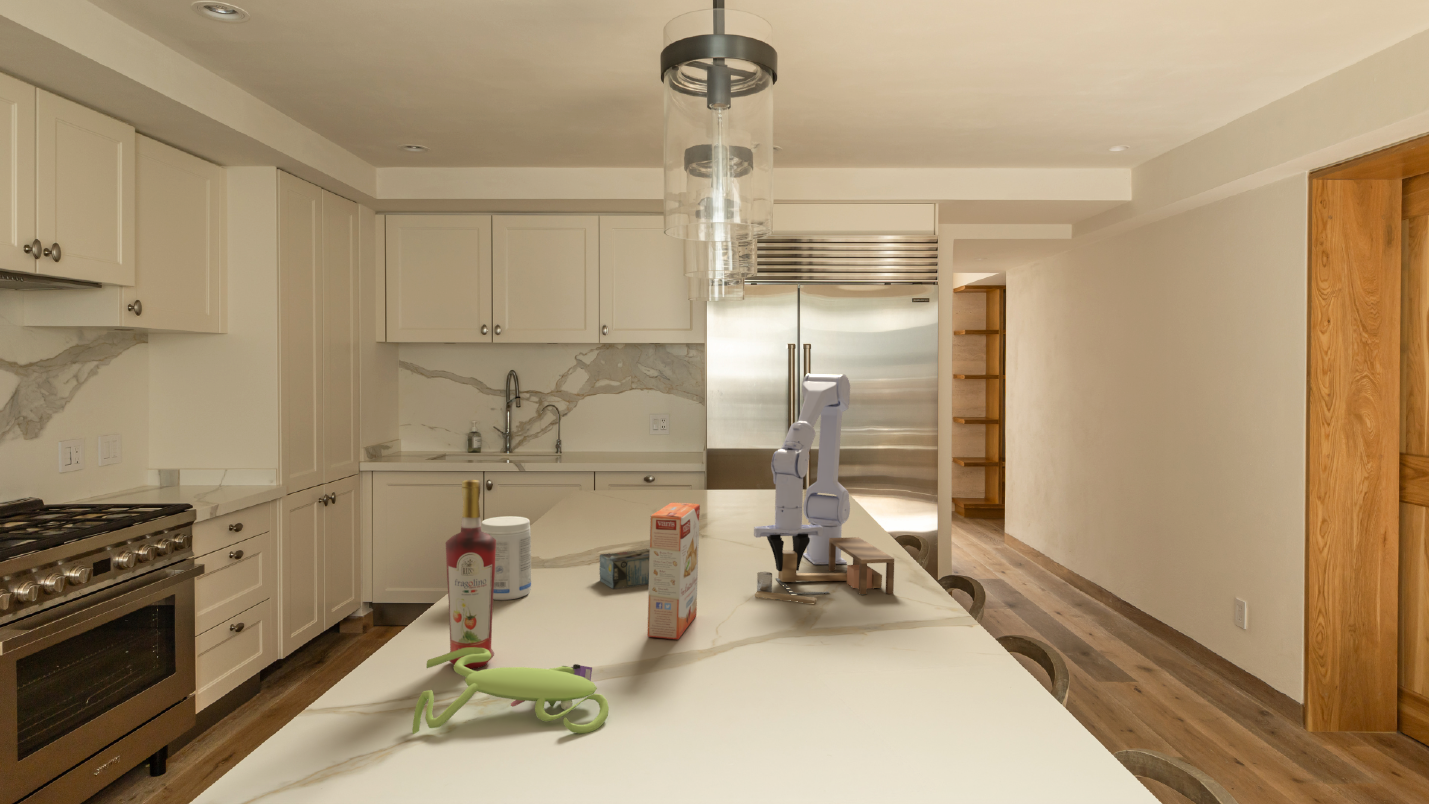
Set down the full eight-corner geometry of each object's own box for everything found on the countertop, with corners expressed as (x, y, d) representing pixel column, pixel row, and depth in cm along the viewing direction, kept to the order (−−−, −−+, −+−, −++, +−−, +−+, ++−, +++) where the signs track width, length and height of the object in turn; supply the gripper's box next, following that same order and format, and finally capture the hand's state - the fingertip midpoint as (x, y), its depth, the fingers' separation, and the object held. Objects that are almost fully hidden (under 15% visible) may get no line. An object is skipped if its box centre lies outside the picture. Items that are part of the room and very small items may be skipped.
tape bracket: (775, 579, 175) (775, 578, 175) (811, 577, 177) (811, 576, 177) (791, 595, 163) (791, 594, 163) (829, 593, 165) (829, 592, 165)
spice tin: (755, 591, 166) (755, 571, 166) (769, 590, 166) (770, 571, 166) (759, 595, 163) (759, 575, 163) (773, 595, 164) (773, 575, 163)
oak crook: (865, 577, 178) (867, 550, 177) (881, 588, 169) (883, 559, 169) (778, 578, 174) (779, 550, 174) (789, 589, 165) (791, 559, 165)
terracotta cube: (846, 583, 173) (847, 565, 173) (864, 583, 174) (865, 564, 173) (853, 588, 169) (854, 569, 169) (871, 588, 170) (872, 569, 169)
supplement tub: (518, 584, 168) (518, 514, 167) (539, 595, 160) (540, 521, 160) (472, 592, 162) (472, 519, 161) (492, 604, 154) (493, 527, 153)
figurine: (436, 679, 119) (436, 641, 119) (619, 680, 120) (619, 642, 119) (387, 737, 101) (387, 692, 101) (603, 738, 101) (604, 694, 101)
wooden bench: (828, 569, 184) (829, 538, 184) (857, 568, 185) (858, 537, 185) (860, 594, 164) (861, 559, 164) (893, 593, 166) (894, 558, 165)
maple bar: (757, 596, 164) (757, 590, 164) (816, 604, 159) (816, 598, 159) (755, 599, 162) (755, 593, 162) (813, 606, 158) (814, 600, 158)
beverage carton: (597, 581, 172) (597, 550, 172) (678, 571, 182) (678, 542, 181) (612, 590, 165) (612, 558, 165) (695, 579, 175) (695, 549, 175)
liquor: (444, 675, 120) (444, 485, 118) (446, 657, 127) (446, 478, 125) (496, 671, 122) (496, 484, 120) (495, 653, 129) (496, 477, 127)
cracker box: (681, 641, 136) (682, 516, 135) (646, 638, 137) (647, 514, 136) (699, 615, 149) (701, 502, 148) (667, 613, 151) (669, 500, 149)
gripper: (760, 510, 167) (758, 575, 167) (827, 508, 169) (826, 573, 170) (751, 504, 174) (750, 567, 174) (817, 503, 176) (815, 565, 177)
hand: (787, 569), depth 173 cm, fingers closed on oak crook, 3 cm apart
